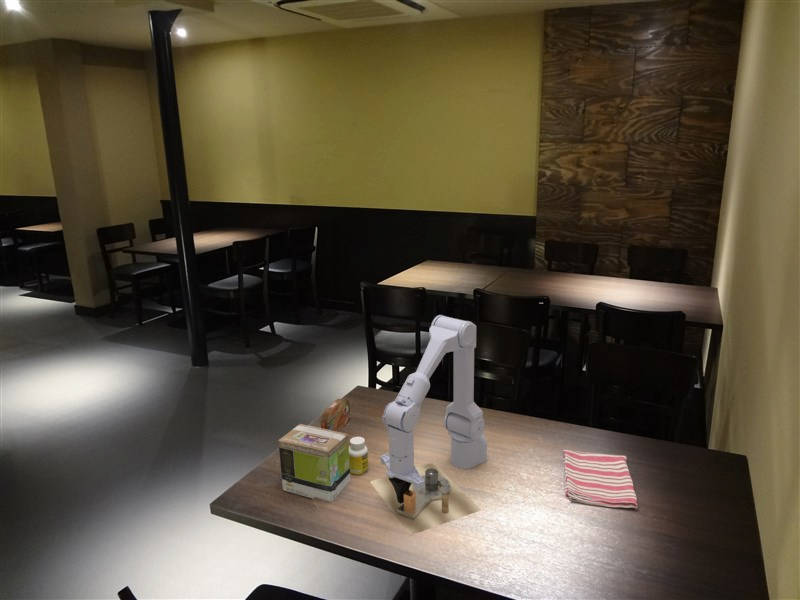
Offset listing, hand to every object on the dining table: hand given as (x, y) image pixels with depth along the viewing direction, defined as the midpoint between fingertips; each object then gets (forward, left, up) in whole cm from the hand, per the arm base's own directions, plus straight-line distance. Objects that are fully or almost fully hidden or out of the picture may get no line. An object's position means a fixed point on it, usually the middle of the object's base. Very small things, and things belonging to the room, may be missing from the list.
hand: (402, 501), depth 133 cm
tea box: (+15, -19, -3) cm, 25 cm away
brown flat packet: (0, -45, -3) cm, 46 cm away
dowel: (-8, +6, -3) cm, 11 cm away
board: (-7, -2, -3) cm, 8 cm away
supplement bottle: (+3, -20, -3) cm, 21 cm away
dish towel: (-51, +12, -4) cm, 52 cm away
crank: (-6, -1, -2) cm, 7 cm away
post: (-10, -3, -3) cm, 11 cm away
